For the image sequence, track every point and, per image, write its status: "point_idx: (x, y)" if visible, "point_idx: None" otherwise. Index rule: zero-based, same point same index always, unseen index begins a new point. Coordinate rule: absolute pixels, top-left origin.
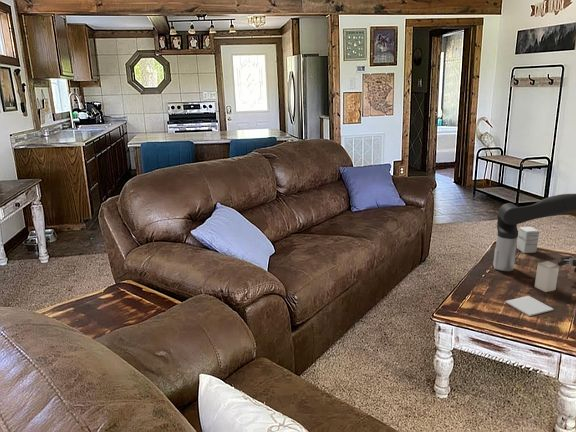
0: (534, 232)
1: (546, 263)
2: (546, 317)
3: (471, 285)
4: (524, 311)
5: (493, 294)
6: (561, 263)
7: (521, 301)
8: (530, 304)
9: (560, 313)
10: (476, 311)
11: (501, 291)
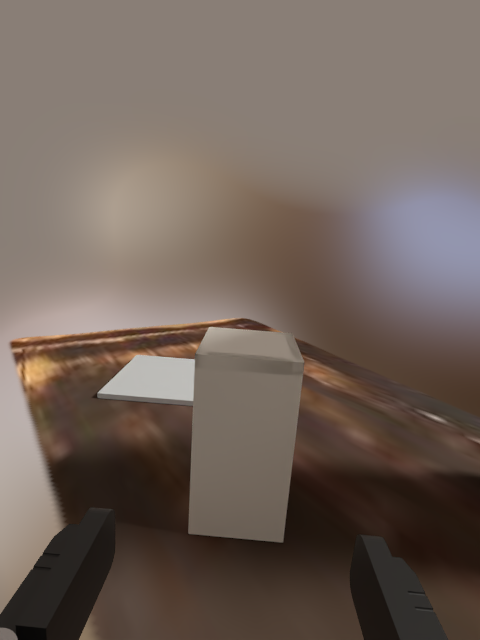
0: None
1: (264, 341)
2: (98, 371)
3: (347, 371)
4: (155, 357)
5: None
6: (367, 597)
7: None
8: (168, 378)
9: (68, 397)
10: None
11: None
